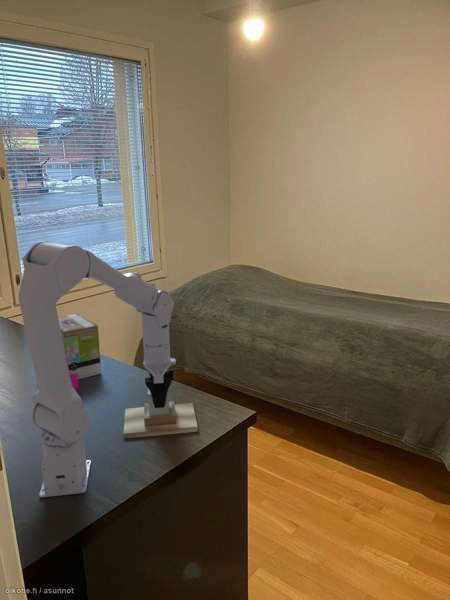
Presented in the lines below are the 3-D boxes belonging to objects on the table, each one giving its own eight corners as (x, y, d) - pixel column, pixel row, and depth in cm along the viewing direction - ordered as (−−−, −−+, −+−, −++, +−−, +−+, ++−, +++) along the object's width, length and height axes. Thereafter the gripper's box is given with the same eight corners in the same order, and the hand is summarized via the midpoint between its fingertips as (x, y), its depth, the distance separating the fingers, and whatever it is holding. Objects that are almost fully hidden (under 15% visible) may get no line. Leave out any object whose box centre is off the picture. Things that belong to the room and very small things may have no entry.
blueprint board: (197, 431, 104) (197, 418, 103) (123, 438, 101) (122, 424, 100) (192, 407, 114) (192, 395, 113) (125, 413, 112) (124, 400, 111)
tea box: (103, 373, 133) (98, 324, 129) (68, 383, 127) (62, 332, 123) (82, 357, 145) (78, 311, 141) (49, 365, 139) (44, 318, 135)
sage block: (169, 413, 105) (168, 392, 104) (148, 414, 104) (147, 394, 103) (168, 403, 109) (167, 383, 108) (149, 405, 109) (147, 385, 107)
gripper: (177, 353, 96) (179, 413, 100) (172, 330, 110) (174, 383, 114) (142, 356, 95) (145, 416, 99) (142, 332, 109) (145, 385, 112)
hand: (159, 398), depth 106 cm, fingers open, 7 cm apart
